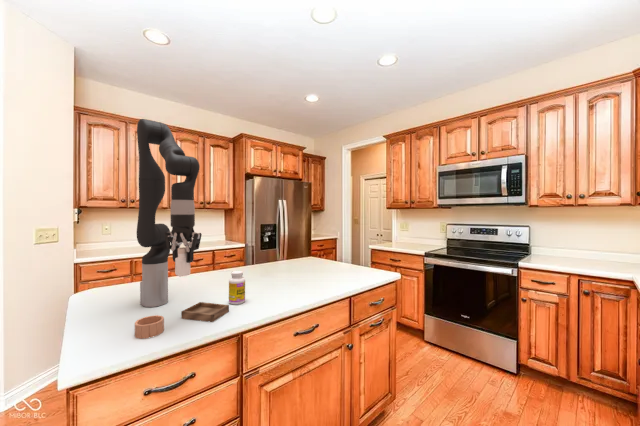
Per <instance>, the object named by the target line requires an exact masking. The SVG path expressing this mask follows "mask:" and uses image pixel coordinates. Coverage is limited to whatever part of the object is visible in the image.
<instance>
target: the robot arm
mask: <svg viewBox="0 0 640 426" xmlns="http://www.w3.org/2000/svg"><path fill="white" fill-rule="evenodd" d="M136 136H137V137H136V138H137V151H138V216H137V223H136V239H137V243H138V244H139V246H140V247H142V248H150V249H149V250H148V251H147V253H146V254H144V255H143V256H142V258H141V277H142V278H141V281H140V282H139V285H140V286H139V295H140V296H139V297H140V300H139V303H140V304H139V305H140V306H143V307H145V308H153V307H159V306H163V305H166V304H167V303H169V256H170V253H171V252H172V261H173V263H175V258H177V257H178V248H181V245H182V244H183V246H184V247H186V250H187V252H186V262H187V263H190V264H191V263H192V262H193V261H194V255H195V254H194V253H195V251H197V250H199V248H200V245H201V239H202V233H201V232H195V229H194V227H195V226H196V223H195V222H196V221H195V219H196V217H195V216H196V214H195V213H196V210H195V209H196V207H195V206H196V205H195V186H196V183H197V178H198V175H199V173H200V163H199V160H198V159H197V158H196V157H194V156H188V155H186V153H185V151H184V150H183V149H182V148H181V146H180V145H178V143H177V141H176V139H175V138H174V135H173V133H172V131H171V129H170V127H169V125H167V124H166V123H164V122H161V121H155V120H152V119H146V118H141V119H139V120H138V122H137V125H136ZM151 144H152V145H158V152H159V154H160V156H161V157H162V158H163V160H164V161H165V162H164V164H165V171H166V172H167V173H168V174H169V175H172V176H177V177H178V176H179V177H180V176H181V177H185V179H184V181H181V182H174V183H172V185H171V191H170V192H171V195H170V196H171V197H170V198H171V199H170V201H171V202H170V227H171V228H172V229H171V231H170V228H169V226H168V225H167V224H164V223H156V214H157V210H158V208H159V206H160V204H161V202H162V200H163V198H164V196H165V194H166V177H165V173H164V171H163V170H162V169H161V167H160V166H159V164H158V163H157V161H156V160H155V159H154V157H153V154H152V152H151V146H150V145H151Z"/></svg>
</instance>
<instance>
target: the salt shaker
mask: <svg viewBox="0 0 640 426" xmlns="http://www.w3.org/2000/svg"><path fill="white" fill-rule="evenodd" d="M186 252H187V250H186V247H185V246H184V247H180V248H178V257H177V258H175V262H174V271H175V272H174V273H175V275H176V277H180V278H181V277H187V276H190V275H191V262H190V263H187V262H186Z"/></svg>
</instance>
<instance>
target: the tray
mask: <svg viewBox="0 0 640 426" xmlns="http://www.w3.org/2000/svg"><path fill="white" fill-rule="evenodd" d="M229 312H230V305H229V304H220V303H215V302H213V303H211V302H203V301H199V302H197V303H195V304H193V305H191V306H189V307H187V308H186V309H184V310H181V313H180V314H181V315H180V318H181V319H184V320H190V321H191V320H194V321H200V320H201V322H208V321H210V322H209V323H214V322H215V321H217V320H219V318H221V317H223V316H225V315H226V314H227V313H229Z"/></svg>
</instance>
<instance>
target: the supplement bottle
mask: <svg viewBox="0 0 640 426" xmlns="http://www.w3.org/2000/svg"><path fill="white" fill-rule="evenodd" d="M230 274H231V275H230V276H231V277H230V278H229V279H228V302H229V304H231V305H241V304H243V303H245V301H246V278H245V277H244V276H243V275H244V271H242V270H234V271H232V272H231V273H230Z"/></svg>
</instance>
